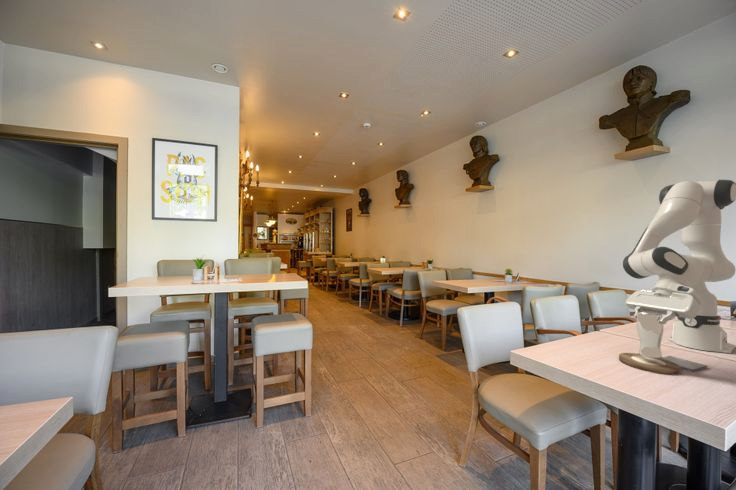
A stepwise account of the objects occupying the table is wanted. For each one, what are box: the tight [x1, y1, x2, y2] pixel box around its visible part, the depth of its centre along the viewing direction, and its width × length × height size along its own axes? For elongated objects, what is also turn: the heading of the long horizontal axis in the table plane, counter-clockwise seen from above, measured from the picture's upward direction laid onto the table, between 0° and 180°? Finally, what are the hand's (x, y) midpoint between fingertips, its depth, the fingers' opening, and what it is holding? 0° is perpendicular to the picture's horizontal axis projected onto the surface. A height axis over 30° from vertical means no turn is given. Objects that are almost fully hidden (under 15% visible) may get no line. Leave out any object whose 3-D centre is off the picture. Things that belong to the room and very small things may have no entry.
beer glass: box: [636, 311, 665, 358], centre depth 105 cm, size 7×7×15 cm
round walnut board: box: [618, 352, 682, 376], centre depth 105 cm, size 16×16×2 cm
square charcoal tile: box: [662, 355, 708, 373], centre depth 106 cm, size 10×10×1 cm
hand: (648, 320), depth 105 cm, fingers closed on beer glass, 6 cm apart
